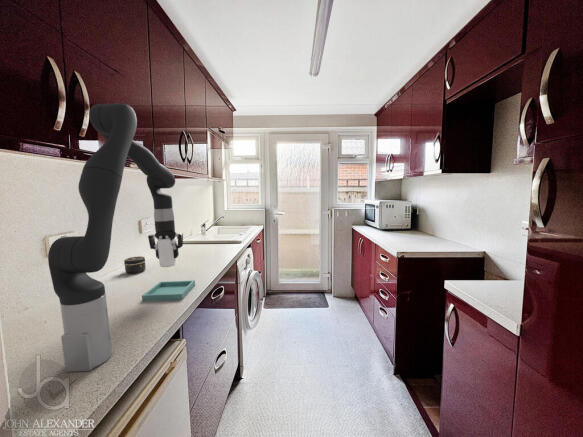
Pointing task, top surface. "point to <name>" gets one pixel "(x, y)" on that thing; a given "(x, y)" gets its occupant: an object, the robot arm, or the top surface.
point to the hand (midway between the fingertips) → (167, 257)
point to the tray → (169, 291)
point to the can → (166, 253)
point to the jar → (134, 265)
